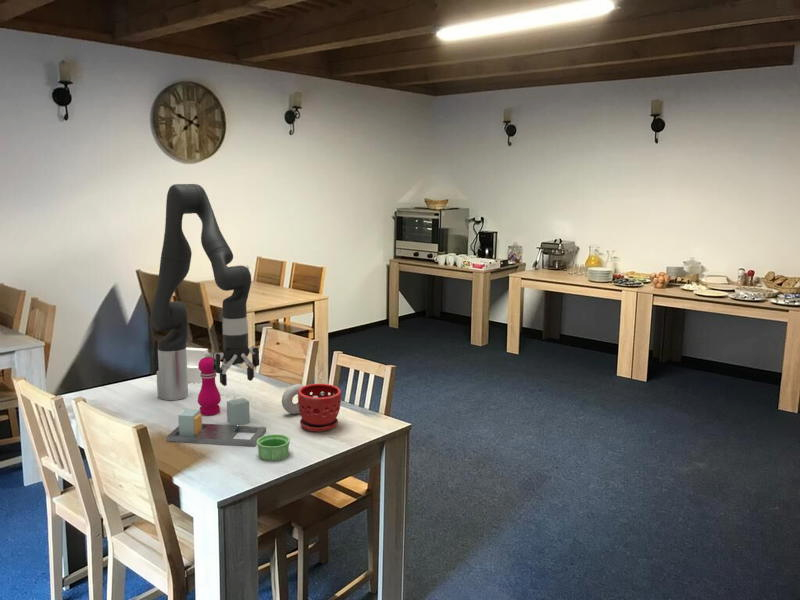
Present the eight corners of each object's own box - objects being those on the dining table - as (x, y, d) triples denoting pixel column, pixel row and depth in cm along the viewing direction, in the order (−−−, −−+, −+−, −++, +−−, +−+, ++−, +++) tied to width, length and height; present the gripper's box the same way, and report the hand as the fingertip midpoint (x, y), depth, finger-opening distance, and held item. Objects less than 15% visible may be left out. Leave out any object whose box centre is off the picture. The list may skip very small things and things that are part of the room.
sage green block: (179, 438, 191) (178, 415, 190) (187, 431, 196) (186, 408, 195) (195, 439, 191) (194, 416, 189) (203, 432, 196) (202, 409, 195)
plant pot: (290, 431, 198) (289, 393, 196) (311, 416, 210) (311, 381, 208) (328, 437, 193) (328, 399, 191) (348, 423, 205) (348, 386, 203)
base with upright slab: (179, 382, 242) (178, 351, 240) (191, 375, 251) (189, 345, 248) (202, 384, 240) (201, 352, 238) (213, 377, 249) (212, 346, 247)
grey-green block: (226, 421, 205) (225, 400, 203) (242, 418, 208) (242, 397, 207) (233, 426, 201) (232, 404, 199) (249, 422, 204) (249, 401, 203)
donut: (284, 418, 208) (284, 388, 206) (280, 415, 211) (279, 385, 209) (312, 412, 214) (312, 383, 212) (307, 409, 217) (307, 380, 215)
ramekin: (260, 464, 175) (260, 448, 174) (254, 451, 183) (253, 436, 183) (293, 459, 179) (293, 443, 178) (285, 446, 187) (285, 432, 186)
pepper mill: (214, 417, 208) (212, 356, 205) (194, 415, 210) (191, 354, 206) (225, 409, 215) (223, 350, 211) (205, 407, 217) (202, 349, 213)
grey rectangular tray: (166, 441, 189) (166, 436, 188) (183, 427, 199) (182, 422, 199) (254, 446, 186) (254, 441, 186) (266, 431, 197) (265, 427, 197)
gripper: (251, 326, 206) (252, 375, 209) (207, 332, 197) (210, 384, 200) (262, 330, 201) (263, 381, 203) (218, 337, 192) (220, 390, 195)
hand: (237, 382), depth 202 cm, fingers open, 8 cm apart
